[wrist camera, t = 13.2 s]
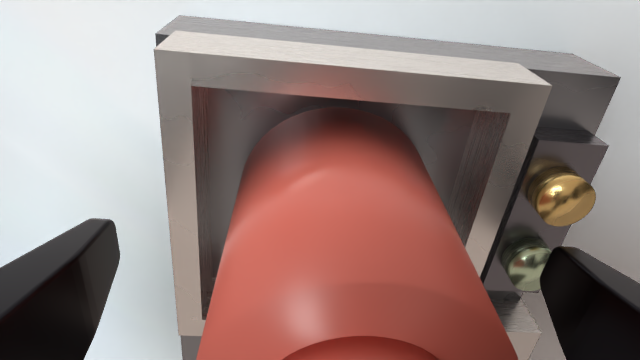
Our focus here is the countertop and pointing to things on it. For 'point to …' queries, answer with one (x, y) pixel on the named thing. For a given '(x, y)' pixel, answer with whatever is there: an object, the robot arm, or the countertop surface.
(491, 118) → the breaker panel
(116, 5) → the countertop surface
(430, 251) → the cap
